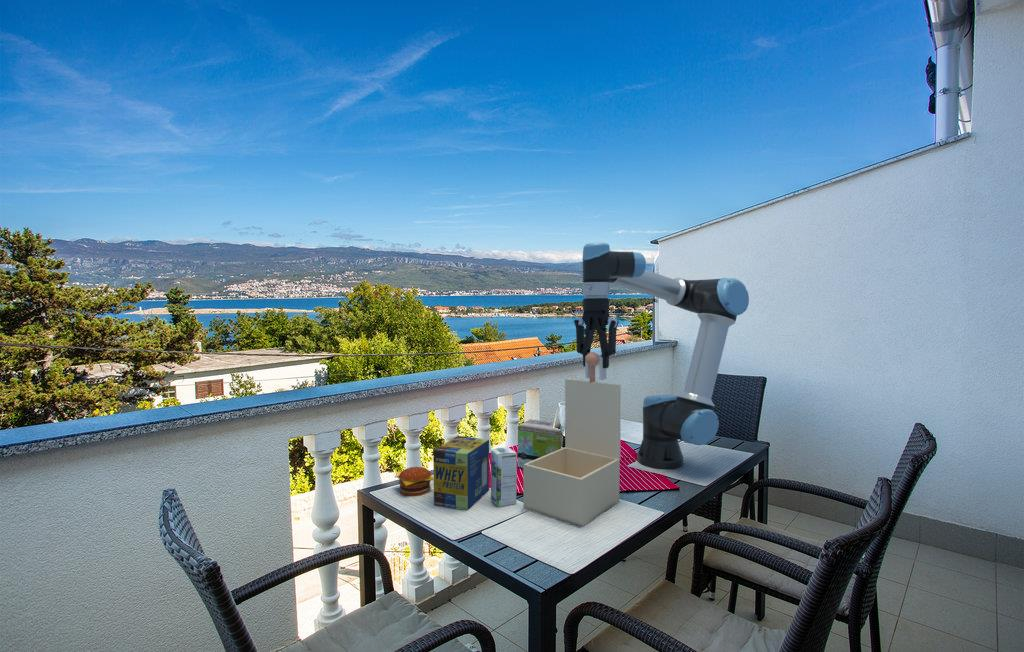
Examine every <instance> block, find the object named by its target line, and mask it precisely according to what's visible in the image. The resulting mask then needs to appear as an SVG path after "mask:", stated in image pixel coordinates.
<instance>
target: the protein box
mask: <svg viewBox="0 0 1024 652" xmlns="http://www.w3.org/2000/svg"><path fill="white" fill-rule="evenodd" d="M432 451H433V453H432V454H433V456H432V457H433V465H432V466H433V478H434V480H433V505H434V506H439V507H444V508H445V507H446V508H451V509H457V510H462V511H468V510H470V509H471V508H472V507H473V506H474V505H475V504H476V503H477V502H478V501H479V500H481V499H482V497H483V496H486V494H487V493H488V492H489V491H490V439H487V438H479V437H470V436H463V435H457V436H455V437H453V438H452V439H450V440H447V442H445V443H443V444H441V445H440V446H438V447H436V448H434V449H433V450H432Z"/></svg>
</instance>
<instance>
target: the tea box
mask: <svg viewBox="0 0 1024 652" xmlns="http://www.w3.org/2000/svg"><path fill="white" fill-rule="evenodd" d="M553 423H555V422H552V421H545V420H538V419H531V418H530V419H528V420H527V421H525V422H523V423H521V424H519V425H517V468H518V467H521V468H520V469H523V464H526V463H528V462H530V461H533V460H535V459H538V458H540V457H542V456H545V455H547V454H550V453H552V452H554V451H557V450H559V449H561V429H558V428H555V426H554V428H553Z"/></svg>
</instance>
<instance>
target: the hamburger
mask: <svg viewBox="0 0 1024 652" xmlns="http://www.w3.org/2000/svg"><path fill="white" fill-rule="evenodd" d="M395 478H398V481H399V482H398V483H399V488H398V489H399V493H400V494H401V495H403V496H410V497H415V496H421V495H425V494H427V493H428V492H430V490H431V489H432V487H431V481H434V476H432V473H431V471H430V470H429V469H428V468H425V467H423V466H410V467H407V468H405V469H403V470H401V471H400V474H398V475H396V476H395Z"/></svg>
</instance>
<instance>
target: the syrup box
mask: <svg viewBox="0 0 1024 652" xmlns="http://www.w3.org/2000/svg"><path fill="white" fill-rule="evenodd" d="M490 452H491V453H490V455H491V456H490V501H492V502H493V503H494V505H495V506H497V508H501V507H505V506H510V505H515V504H517V473H518V472H517V471H518V470H517V468H518V452H516V451H515V450H513V449H512V448H510V447H507V446H506V447H496V448H492V449H491V450H490Z"/></svg>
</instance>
